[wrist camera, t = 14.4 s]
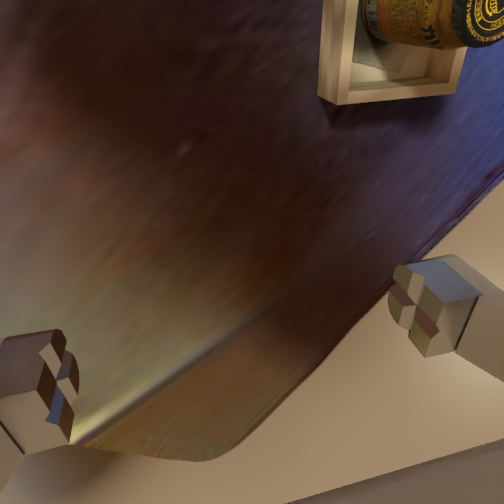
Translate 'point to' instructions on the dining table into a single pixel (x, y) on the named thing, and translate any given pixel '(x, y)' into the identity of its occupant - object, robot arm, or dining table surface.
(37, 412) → the robot arm
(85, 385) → the dining table surface
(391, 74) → the caddy
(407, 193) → the dining table surface
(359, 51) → the condiment
